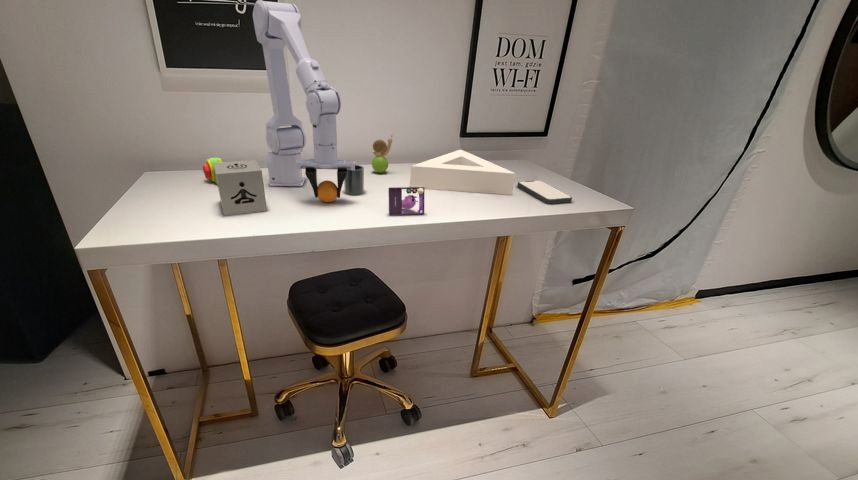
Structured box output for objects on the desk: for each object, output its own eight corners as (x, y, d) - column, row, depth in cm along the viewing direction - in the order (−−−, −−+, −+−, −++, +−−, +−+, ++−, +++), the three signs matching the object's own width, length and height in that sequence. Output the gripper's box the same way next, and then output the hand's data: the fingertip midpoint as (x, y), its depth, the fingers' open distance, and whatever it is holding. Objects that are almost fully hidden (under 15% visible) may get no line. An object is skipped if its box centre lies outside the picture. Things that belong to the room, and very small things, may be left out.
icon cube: (220, 201, 101) (213, 162, 96) (260, 197, 105) (255, 159, 99) (224, 215, 93) (216, 174, 88) (267, 210, 97) (261, 170, 92)
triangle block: (511, 195, 114) (516, 173, 111) (433, 204, 105) (435, 181, 102) (458, 167, 138) (460, 149, 134) (390, 173, 129) (391, 153, 125)
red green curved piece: (211, 188, 110) (206, 164, 106) (197, 170, 123) (192, 149, 120) (234, 184, 113) (230, 161, 109) (218, 168, 126) (214, 147, 123)
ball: (316, 205, 101) (315, 184, 98) (318, 197, 106) (317, 177, 103) (338, 205, 102) (337, 184, 99) (338, 198, 107) (338, 177, 104)
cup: (344, 195, 109) (343, 170, 105) (344, 188, 113) (344, 164, 110) (363, 195, 109) (363, 170, 106) (363, 189, 114) (363, 165, 110)
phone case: (573, 203, 111) (539, 184, 124) (574, 197, 110) (540, 179, 123) (546, 205, 108) (514, 186, 121) (548, 200, 108) (516, 181, 120)
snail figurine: (390, 175, 127) (392, 136, 120) (371, 174, 127) (371, 135, 120) (391, 170, 131) (392, 133, 125) (372, 169, 131) (372, 132, 125)
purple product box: (389, 187, 95) (425, 187, 96) (386, 188, 100) (420, 187, 101) (389, 215, 96) (425, 214, 98) (386, 214, 101) (420, 213, 103)
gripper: (293, 146, 92) (297, 201, 99) (354, 147, 93) (355, 202, 100) (296, 139, 98) (301, 192, 105) (354, 141, 99) (355, 192, 106)
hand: (327, 196), depth 103 cm, fingers closed on ball, 5 cm apart
